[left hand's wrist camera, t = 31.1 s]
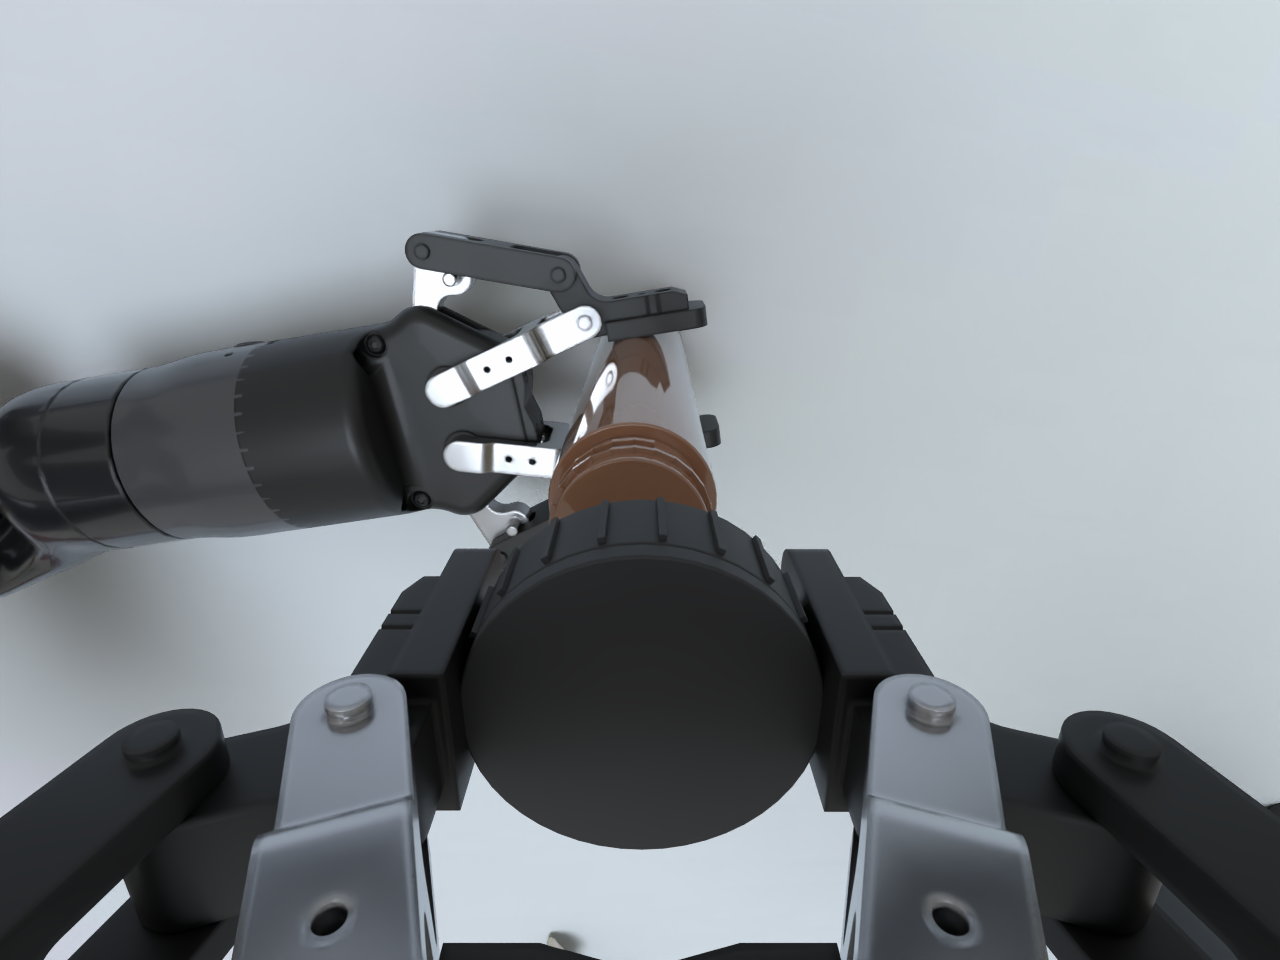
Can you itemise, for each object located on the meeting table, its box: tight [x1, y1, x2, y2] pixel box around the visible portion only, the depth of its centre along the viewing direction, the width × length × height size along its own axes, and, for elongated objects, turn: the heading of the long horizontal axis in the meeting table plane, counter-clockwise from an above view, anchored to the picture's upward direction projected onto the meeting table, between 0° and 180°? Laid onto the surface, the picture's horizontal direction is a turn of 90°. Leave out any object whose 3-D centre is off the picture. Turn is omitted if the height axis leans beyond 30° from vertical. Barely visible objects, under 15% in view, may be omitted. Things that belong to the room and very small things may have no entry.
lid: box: [461, 497, 824, 850], centre depth 10 cm, size 5×5×2 cm
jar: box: [548, 331, 717, 525], centre depth 24 cm, size 4×4×19 cm
